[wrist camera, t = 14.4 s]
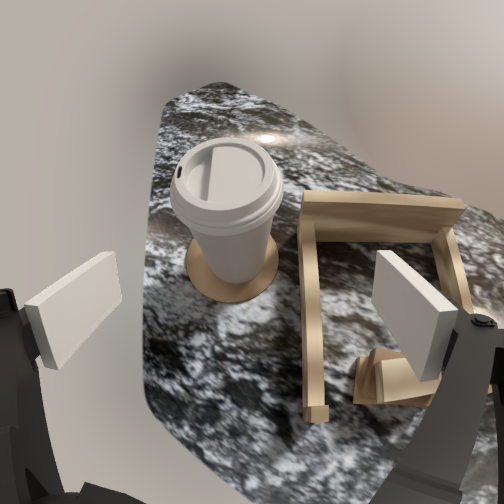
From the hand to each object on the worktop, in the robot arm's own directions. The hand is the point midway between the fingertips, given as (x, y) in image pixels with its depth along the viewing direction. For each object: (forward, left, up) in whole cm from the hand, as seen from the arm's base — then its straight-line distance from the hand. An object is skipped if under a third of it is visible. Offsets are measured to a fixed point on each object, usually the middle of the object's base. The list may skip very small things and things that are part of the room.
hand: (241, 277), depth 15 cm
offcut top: (-10, +12, -16) cm, 23 cm away
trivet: (-4, -11, -20) cm, 23 cm away
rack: (-15, +5, -20) cm, 25 cm away
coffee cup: (-5, -10, -20) cm, 23 cm away
